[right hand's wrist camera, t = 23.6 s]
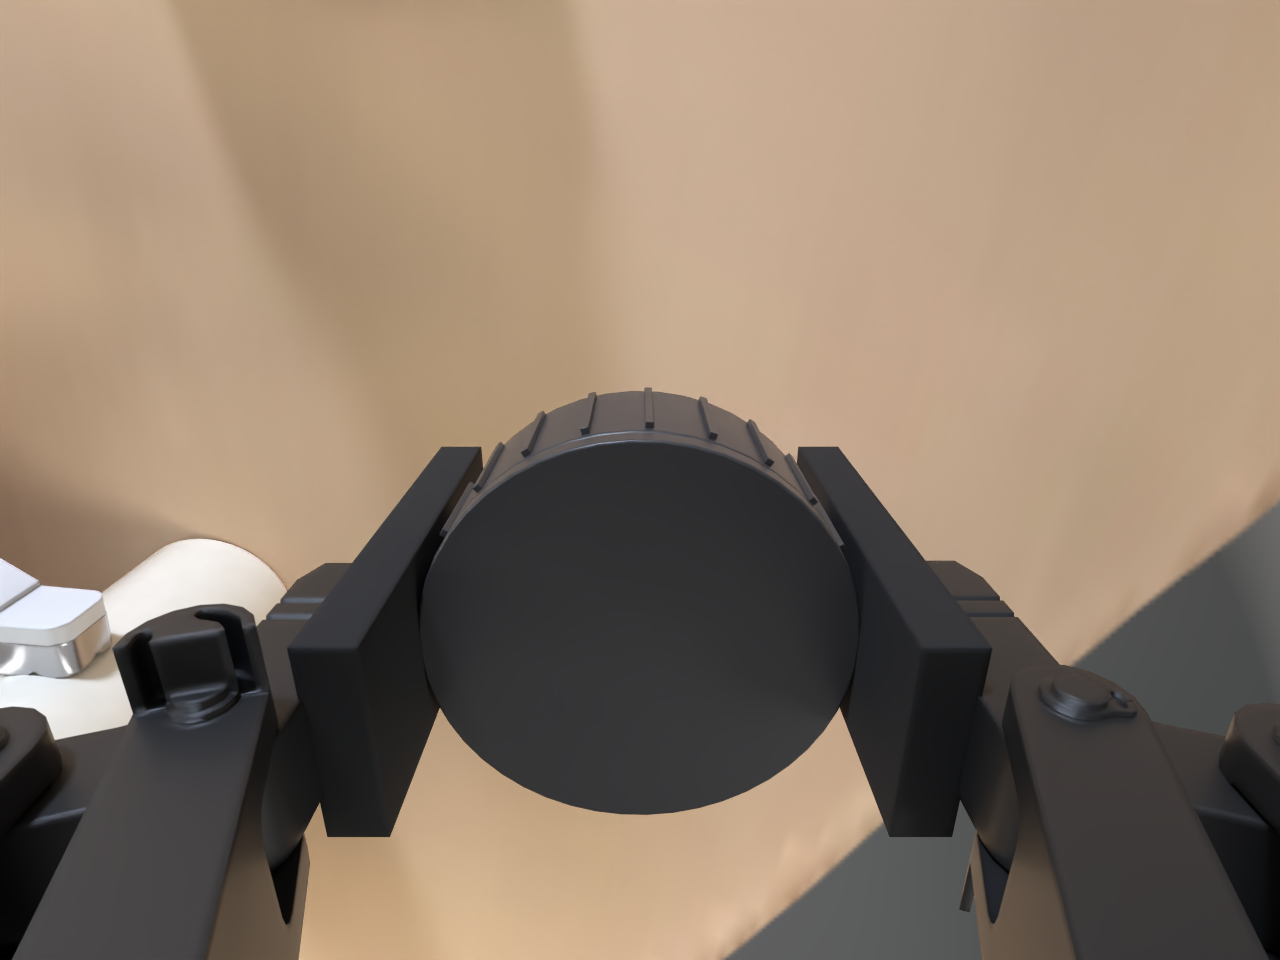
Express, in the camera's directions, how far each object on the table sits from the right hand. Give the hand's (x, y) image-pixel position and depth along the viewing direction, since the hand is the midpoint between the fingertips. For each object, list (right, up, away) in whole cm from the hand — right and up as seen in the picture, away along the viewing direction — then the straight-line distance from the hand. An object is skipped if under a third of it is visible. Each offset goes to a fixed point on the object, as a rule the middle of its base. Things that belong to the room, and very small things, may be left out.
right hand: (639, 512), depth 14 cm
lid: (0, -2, -4) cm, 4 cm away
